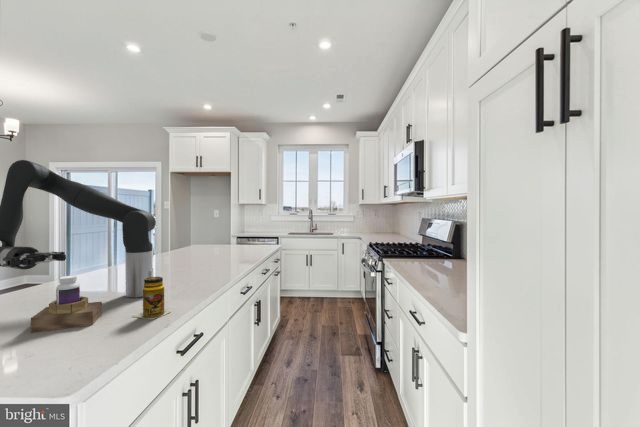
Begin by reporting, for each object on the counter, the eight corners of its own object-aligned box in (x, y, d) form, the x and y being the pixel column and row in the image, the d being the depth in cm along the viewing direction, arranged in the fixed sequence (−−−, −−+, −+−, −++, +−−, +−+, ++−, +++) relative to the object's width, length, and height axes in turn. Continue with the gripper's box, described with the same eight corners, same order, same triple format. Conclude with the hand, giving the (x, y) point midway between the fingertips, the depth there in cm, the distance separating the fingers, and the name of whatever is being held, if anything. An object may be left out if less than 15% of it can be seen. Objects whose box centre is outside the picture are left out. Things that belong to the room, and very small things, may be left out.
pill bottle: (84, 307, 91) (84, 275, 91) (64, 313, 86) (63, 279, 86) (72, 305, 93) (72, 274, 93) (52, 311, 88) (51, 278, 88)
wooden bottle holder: (101, 313, 97) (101, 293, 97) (92, 324, 88) (92, 302, 88) (46, 319, 92) (46, 298, 92) (30, 332, 83) (30, 309, 82)
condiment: (153, 320, 92) (152, 281, 92) (132, 317, 95) (131, 279, 95) (171, 312, 99) (171, 276, 99) (151, 309, 102) (151, 274, 101)
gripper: (-11, 249, 95) (19, 251, 89) (44, 243, 108) (73, 245, 102) (-9, 273, 95) (20, 276, 89) (45, 264, 108) (74, 267, 103)
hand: (48, 259), depth 96 cm, fingers open, 8 cm apart
